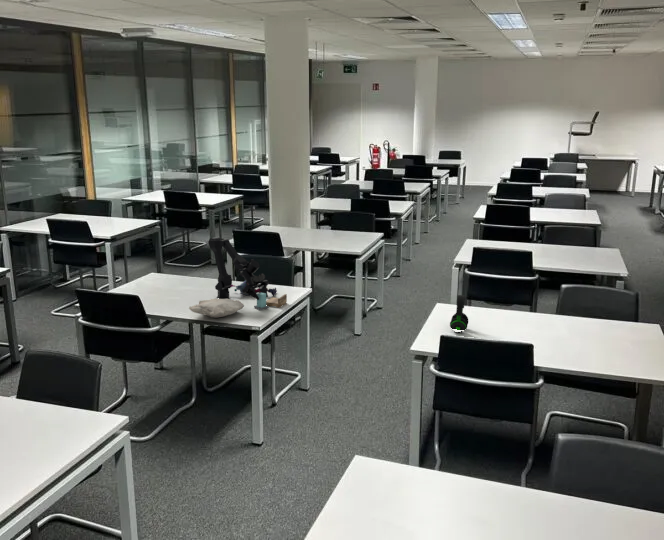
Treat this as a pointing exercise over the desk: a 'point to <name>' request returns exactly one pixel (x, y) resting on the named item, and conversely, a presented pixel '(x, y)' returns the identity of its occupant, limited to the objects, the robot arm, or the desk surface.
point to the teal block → (261, 300)
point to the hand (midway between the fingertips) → (263, 298)
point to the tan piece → (277, 301)
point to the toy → (241, 287)
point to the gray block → (261, 308)
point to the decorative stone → (217, 307)
